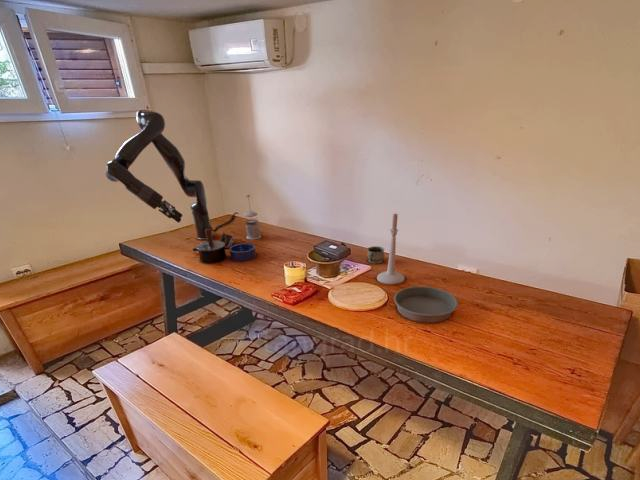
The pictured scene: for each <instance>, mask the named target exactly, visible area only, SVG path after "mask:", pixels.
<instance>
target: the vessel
mask: <svg viewBox="0 0 640 480" xmlns="http://www.w3.org/2000/svg"><path fill="white" fill-rule="evenodd" d="M384 251H385V248H384V247H382V246H376V245H375V246H369V247H367V254H366V255H367V257H366V258H367V259H368V260H367V261H368V262H369V263H370V264H382V263H383V261H384V258H385V254H384Z"/></svg>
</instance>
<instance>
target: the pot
mask: <svg viewBox="0 0 640 480" xmlns="http://www.w3.org/2000/svg"><path fill="white" fill-rule="evenodd" d="M230 247H231V246H224V247H223V248H221V249H218V250H213V251H200V250H198V249H197V247H193V248H192V252H198V256H199V260H200V262H201V263H202V264H207V265H210V264H218V263H222V262H223V261H225V260H227V251H226V250H229V249H230Z"/></svg>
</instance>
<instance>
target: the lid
mask: <svg viewBox="0 0 640 480" xmlns="http://www.w3.org/2000/svg"><path fill="white" fill-rule="evenodd" d="M205 233H206V238H207V239H206V241H204V242H201V243H199V244H197V245H196V248H197V249H198V250H200V251H213V250H218V249H221V248H223V247H224V246H225V243H224V242H221V241H220V240H213V237H212V236H211V232H210V229H205Z"/></svg>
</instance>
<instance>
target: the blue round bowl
mask: <svg viewBox="0 0 640 480" xmlns="http://www.w3.org/2000/svg"><path fill="white" fill-rule="evenodd" d="M228 250H229V251H228V252H229V255H230V256H229V257H230V259H231V260H232V261H234V262H248V261H251V260H254V259H255V258H256V257H257V250H256V245H254V244H252V243H237V244H234V245H232V246H230V249H228Z"/></svg>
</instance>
